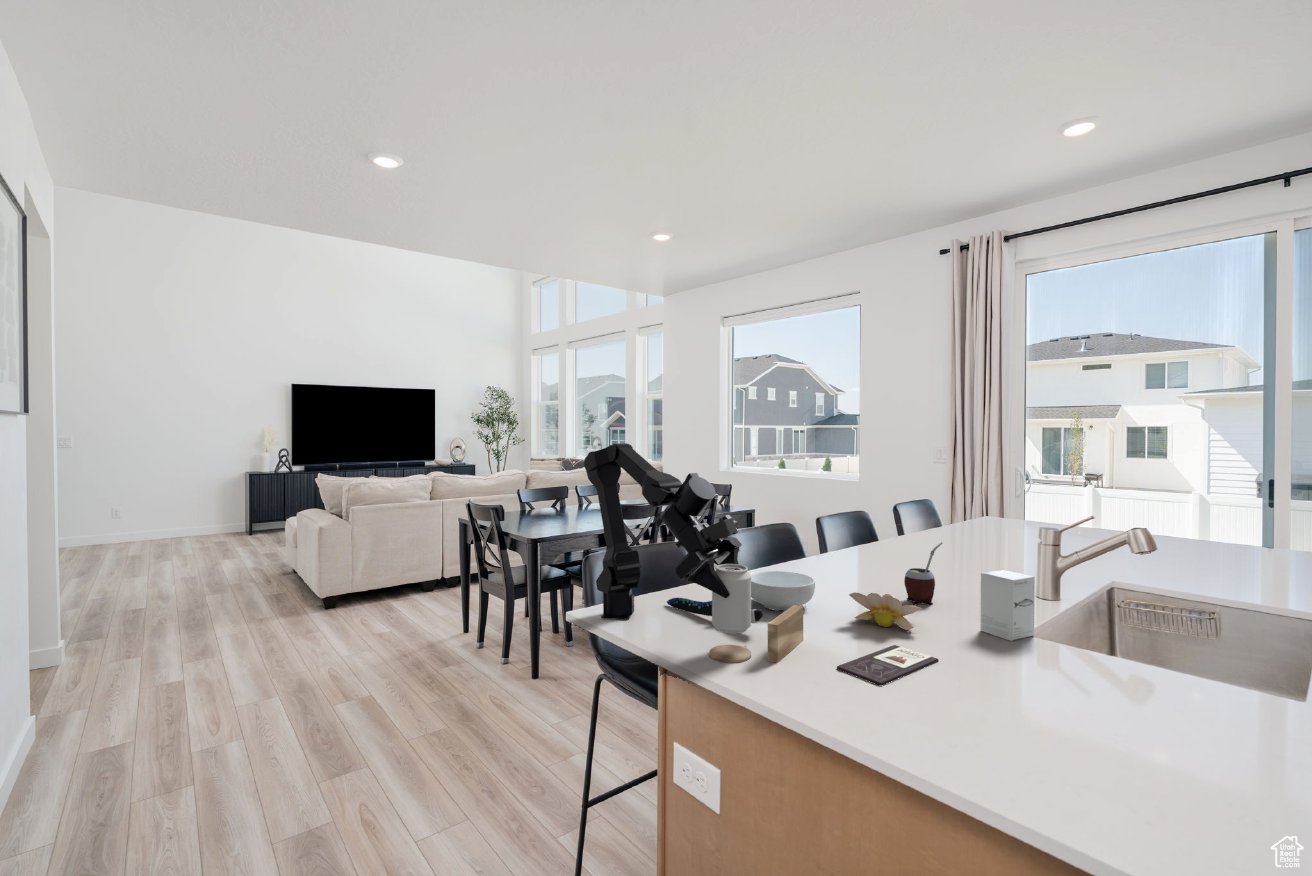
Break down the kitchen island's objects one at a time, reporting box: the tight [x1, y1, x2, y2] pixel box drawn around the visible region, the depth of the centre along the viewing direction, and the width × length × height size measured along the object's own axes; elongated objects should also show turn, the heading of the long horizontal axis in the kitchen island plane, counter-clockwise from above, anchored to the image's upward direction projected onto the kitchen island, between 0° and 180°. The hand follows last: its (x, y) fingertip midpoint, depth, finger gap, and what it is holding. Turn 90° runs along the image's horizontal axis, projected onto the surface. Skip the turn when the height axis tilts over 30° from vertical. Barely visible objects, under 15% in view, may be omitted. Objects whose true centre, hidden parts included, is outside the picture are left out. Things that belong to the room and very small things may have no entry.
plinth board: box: [767, 605, 804, 664], centre depth 118 cm, size 2×14×7 cm, turn 147°
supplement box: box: [980, 569, 1036, 642], centre depth 126 cm, size 7×7×13 cm
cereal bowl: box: [749, 570, 816, 611], centre depth 147 cm, size 17×17×7 cm
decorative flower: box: [848, 592, 924, 631], centre depth 133 cm, size 15×11×10 cm
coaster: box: [709, 644, 752, 664], centre depth 116 cm, size 8×8×1 cm
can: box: [711, 564, 752, 635], centre depth 116 cm, size 8×8×12 cm
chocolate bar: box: [836, 644, 939, 686], centre depth 110 cm, size 9×1×18 cm
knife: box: [666, 597, 764, 624], centre depth 137 cm, size 31×3×4 cm, turn 37°
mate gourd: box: [904, 542, 943, 606], centre depth 150 cm, size 8×8×15 cm
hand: (737, 591), depth 115 cm, fingers closed on can, 7 cm apart
